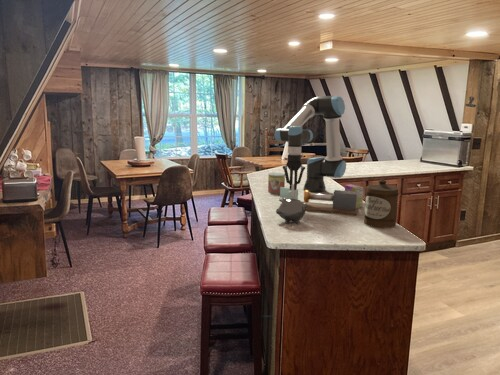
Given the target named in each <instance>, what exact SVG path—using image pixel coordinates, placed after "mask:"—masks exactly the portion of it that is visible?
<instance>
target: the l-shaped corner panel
mask: <svg viewBox="0 0 500 375" xmlns="http://www.w3.org/2000/svg"><path fill="white" fill-rule="evenodd" d="M283 198H286V199H297V200H299V189H298V188H297V189H296V190H295V195H294V196H291V190H290V187H285V188H284V187H280V193H279V198H278V201H280V202H282V201H283Z"/></svg>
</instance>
